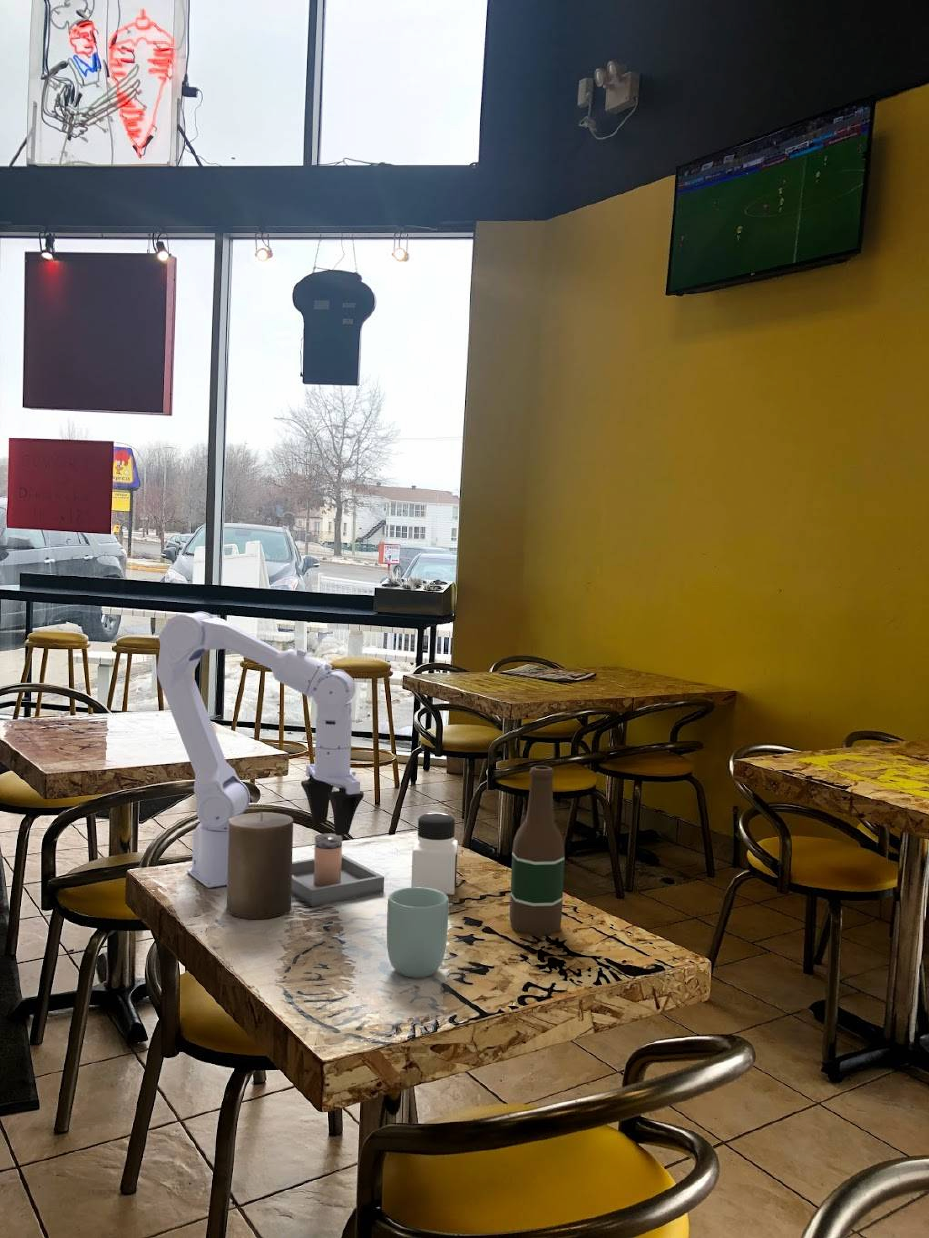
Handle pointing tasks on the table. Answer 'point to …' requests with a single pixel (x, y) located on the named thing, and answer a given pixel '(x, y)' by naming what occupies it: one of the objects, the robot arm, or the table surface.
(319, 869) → the salt shaker
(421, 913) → the cup
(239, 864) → the pillar candle
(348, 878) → the tray
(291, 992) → the table surface
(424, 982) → the table surface
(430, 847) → the medicine bottle
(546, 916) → the beer bottle
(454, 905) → the table surface
